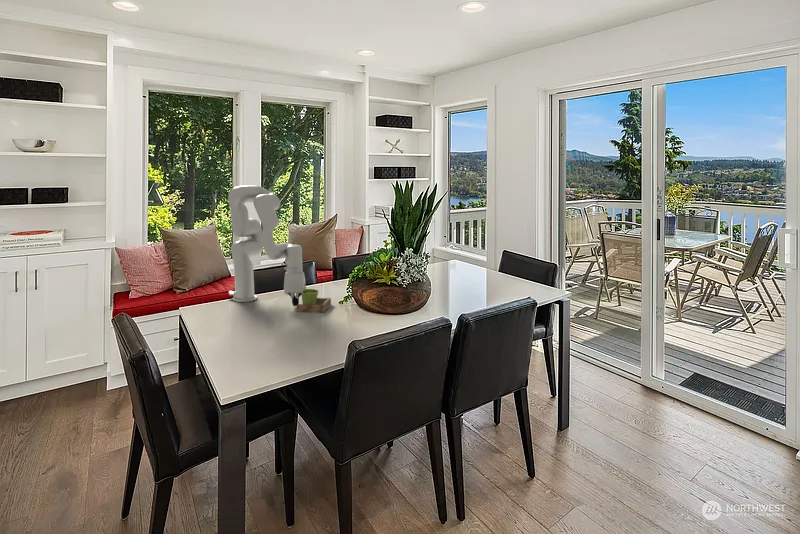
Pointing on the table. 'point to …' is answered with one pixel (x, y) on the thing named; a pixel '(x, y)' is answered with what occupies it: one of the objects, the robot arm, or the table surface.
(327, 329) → the table surface
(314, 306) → the walnut collar
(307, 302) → the plant pot
